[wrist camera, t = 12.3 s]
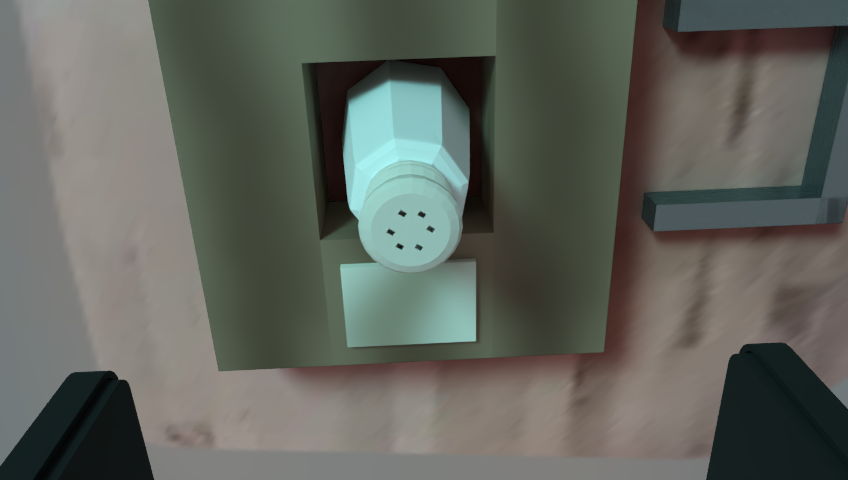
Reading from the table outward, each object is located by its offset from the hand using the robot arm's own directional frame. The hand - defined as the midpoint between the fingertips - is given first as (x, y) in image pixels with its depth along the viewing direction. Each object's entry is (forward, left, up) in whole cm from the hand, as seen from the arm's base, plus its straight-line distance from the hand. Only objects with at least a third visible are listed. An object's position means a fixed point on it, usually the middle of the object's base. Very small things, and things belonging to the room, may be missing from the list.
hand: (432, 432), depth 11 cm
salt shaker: (0, 0, -19) cm, 19 cm away
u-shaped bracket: (-14, 0, -19) cm, 23 cm away
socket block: (0, 0, -19) cm, 19 cm away
